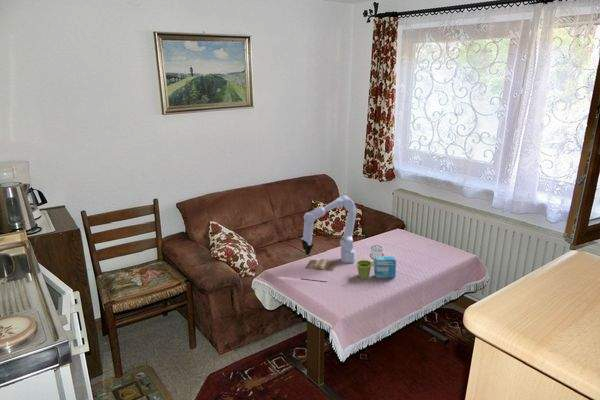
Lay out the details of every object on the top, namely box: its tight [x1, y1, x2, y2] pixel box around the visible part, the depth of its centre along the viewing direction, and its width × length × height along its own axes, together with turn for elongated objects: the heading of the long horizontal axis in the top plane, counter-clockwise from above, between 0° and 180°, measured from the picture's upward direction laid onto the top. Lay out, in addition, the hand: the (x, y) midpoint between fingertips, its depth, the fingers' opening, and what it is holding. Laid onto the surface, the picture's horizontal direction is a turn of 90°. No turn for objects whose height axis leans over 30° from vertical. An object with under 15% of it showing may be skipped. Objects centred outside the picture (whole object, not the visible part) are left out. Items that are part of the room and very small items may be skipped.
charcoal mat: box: [301, 278, 328, 283], centre depth 251 cm, size 16×12×1 cm
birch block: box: [315, 258, 329, 269], centre depth 262 cm, size 6×10×2 cm, turn 163°
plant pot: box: [355, 259, 373, 279], centre depth 248 cm, size 9×9×9 cm
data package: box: [373, 256, 397, 279], centre depth 247 cm, size 12×4×12 cm, turn 89°
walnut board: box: [304, 259, 338, 272], centre depth 263 cm, size 18×13×2 cm
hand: (306, 251), depth 260 cm, fingers open, 7 cm apart
